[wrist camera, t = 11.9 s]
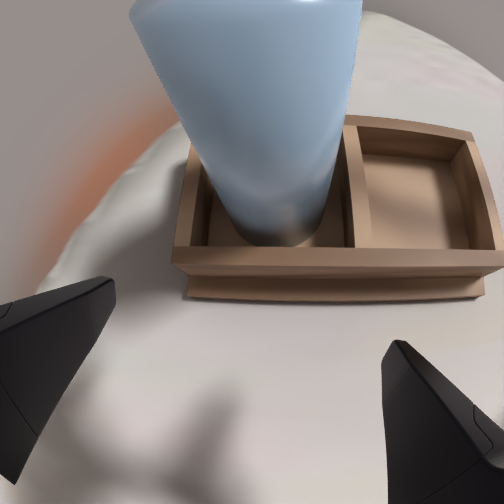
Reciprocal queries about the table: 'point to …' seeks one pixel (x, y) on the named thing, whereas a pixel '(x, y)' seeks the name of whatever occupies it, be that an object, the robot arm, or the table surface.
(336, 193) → the wooden divided tray
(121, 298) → the table surface
